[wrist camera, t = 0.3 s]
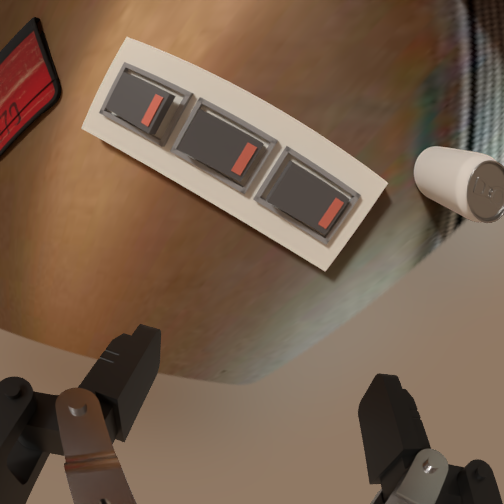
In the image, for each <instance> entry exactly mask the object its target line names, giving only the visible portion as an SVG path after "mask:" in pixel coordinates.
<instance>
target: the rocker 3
mask: <svg viewBox="0 0 504 504" xmlns="http://www.w3.org/2000/svg"><path fill="white" fill-rule="evenodd" d="M266 200H267V202H268V203H270V204H272V205H274V206H276V207H277V208H279V209H281V210H283V211H284V212H286V213H288V214H290V215H292V216H293V217H295V218H297V219H299V220H300V221H302V222H304V223H306V224H307V225H309V226H311V227H313V228H314V229H316V230H318V231H319V232H321V233H323V234H325V235H326V233H327V232H328V230H329V229H330V227H331V226H332V225H333V223H334V222H335V220H336V219H337V217H338V216H339V215H340V213H341V212H342V210H343V209H344V207H345V206H346V204H347V203H348V201H349V200H350V199H349V198H347V197H346V196H345V195H344V194H342V193H341V192H339V191H338V190H336V189H334V188H333V187H331V186H330V185H328V184H327V183H325V182H324V181H322V180H321V179H319V178H318V177H316V176H314V175H313V174H311V173H310V172H308V171H306V170H305V169H303V168H302V167H300V166H298V165H297V164H295V163H294V162H292V161H289V162H288V164H287V165H286V167H285V168H284V170H283V172H282V173H281V175H280V176H279V178H278V179H277V181H276V183H275V184H274V186H273V187H272V189H271V191H270V192H269V194H268V195H267V197H266Z"/></svg>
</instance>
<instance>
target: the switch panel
mask: <svg viewBox="0 0 504 504" xmlns="http://www.w3.org/2000/svg"><path fill="white" fill-rule="evenodd" d="M123 72H126V73H129V74H131V75H133V76H135V77H138V78H140V79H142V80H144V81H146V82H148V83H150V84H152V85H154V86H156V87H158V88H160V89H162V90H164V91H166V92H168V93H170V94H172V95H174V96H176V97H175V99H174V100H173V102H172V104H171V106H170V108H169V109H168V111H167V113H166V115H165V117H164V119H163V121H162V122H161V124H160V126H159V128H158V130H157V132H156V134H148V133H147V132H145V131H143V130H142V129H140V128H138V127H137V126H135V125H133V124H132V123H130V122H128V121H127V120H125V119H123V118H122V117H120V116H118V115H117V114H115V113H113V112H112V111H110V110H108V109H106V108H105V107H106V105H107V103H108V101H109V99H110V97H111V95H112V93H113V91H114V89H115V87H116V85H117V83H118V81H119V79H120V77H121V75H122V73H123ZM199 109H201V110H203V111H205V112H207V113H209V114H211V115H213V116H215V117H217V118H219V119H221V120H223V121H224V122H226V123H228V124H230V125H232V126H234V127H235V128H237V129H239V130H241V131H243V132H245V133H246V134H248V135H250V136H252V137H253V138H255V139H257V140H259V141H260V142H262V143H263V144H264V145H263V146H262V148H261V149H260V151H259V153H258V154H257V156H256V158H255V159H254V161H253V162H252V164H251V166H250V167H249V169H248V171H247V172H246V174H245V176H244V177H243V179H242V181H241V182H239V181H237V180H235V179H233V178H231V177H230V176H228V175H226V174H224V173H222V172H220V171H218V170H216V169H215V168H213V167H211V166H209V165H207V164H205V163H203V162H201V161H199V160H197V159H195V158H193V157H191V156H189V155H187V154H185V153H183V152H181V151H179V150H178V149H177V148H178V147H179V145H180V143H181V141H182V139H183V137H184V135H185V134H186V132H187V130H188V128H189V126H190V125H191V123H192V121H193V119H194V117H195V116H196V114H197V112H198V111H199ZM82 129H83V130H85V131H87V132H89V133H91V134H92V135H94V136H96V137H98V138H100V139H101V140H103V141H105V142H107V143H108V144H110V145H112V146H114V147H116V148H117V149H119V150H121V151H123V152H124V153H126V154H128V155H130V156H131V157H133V158H135V159H137V160H138V161H140V162H142V163H144V164H145V165H147V166H149V167H151V168H152V169H154V170H156V171H158V172H159V173H161V174H163V175H165V176H166V177H168V178H170V179H171V180H173V181H175V182H177V183H178V184H180V185H182V186H183V187H185V188H187V189H189V190H190V191H192V192H194V193H195V194H197V195H199V196H201V197H202V198H204V199H206V200H207V201H209V202H211V203H212V204H214V205H216V206H217V207H219V208H221V209H223V210H224V211H226V212H228V213H229V214H231V215H233V216H234V217H236V218H238V219H239V220H241V221H243V222H244V223H246V224H248V225H249V226H251V227H253V228H254V229H256V230H258V231H259V232H261V233H263V234H264V235H266V236H268V237H269V238H271V239H273V240H274V241H276V242H278V243H279V244H281V245H283V246H284V247H286V248H287V249H289V250H291V251H292V252H294V253H296V254H297V255H299V256H301V257H302V258H304V259H305V260H307V261H309V262H310V263H312V264H314V265H315V266H317V267H318V268H320V269H322V270H323V271H325V272H326V270H327V269H328V268H329V266H330V265H331V263H332V262H333V261H334V259H335V258H336V257H337V255H338V254H339V253H340V251H341V250H342V249H343V247H344V246H345V244H346V243H347V242H348V240H349V239H350V238H351V236H352V235H353V233H354V232H355V231H356V229H357V228H358V226H359V225H360V223H361V222H362V221H363V219H364V218H365V216H366V215H367V213H368V212H369V211H370V209H371V208H372V206H373V205H374V203H375V202H376V200H377V199H378V197H379V196H380V195H381V193H382V192H383V190H384V189H385V187H386V186H387V184H388V183H387V182H386V181H385V180H384V179H382V178H381V177H380V176H378V175H377V174H376V173H374V172H373V171H372V170H370V169H369V168H368V167H366V166H365V165H363V164H362V163H361V162H359V161H358V160H356V159H355V158H354V157H352V156H351V155H349V154H348V153H346V152H345V151H344V150H342V149H341V148H339V147H338V146H336V145H335V144H333V143H332V142H330V141H329V140H327V139H326V138H324V137H323V136H321V135H320V134H318V133H317V132H315V131H314V130H312V129H310V128H309V127H307V126H306V125H304V124H302V123H301V122H299V121H298V120H296V119H294V118H293V117H291V116H289V115H288V114H286V113H284V112H283V111H281V110H279V109H278V108H276V107H274V106H272V105H271V104H269V103H267V102H265V101H264V100H262V99H260V98H258V97H257V96H255V95H253V94H251V93H249V92H247V91H246V90H244V89H242V88H240V87H238V86H236V85H234V84H232V83H230V82H228V81H226V80H224V79H222V78H220V77H218V76H216V75H214V74H212V73H210V72H208V71H206V70H204V69H202V68H200V67H198V66H196V65H193V64H191V63H189V62H187V61H185V60H183V59H180V58H178V57H176V56H173V55H171V54H169V53H166V52H164V51H162V50H159V49H157V48H154V47H152V46H149V45H147V44H144V43H142V42H139V41H137V40H134V39H131V38H129V37H126V39H125V41H124V42H123V44H122V46H121V48H120V49H119V51H118V53H117V55H116V57H115V58H114V60H113V62H112V64H111V66H110V68H109V70H108V72H107V74H106V75H105V77H104V79H103V81H102V83H101V85H100V88H99V90H98V92H97V94H96V96H95V98H94V100H93V102H92V105H91V107H90V109H89V111H88V114H87V116H86V118H85V121H84V123H83V125H82ZM289 161H292V162H294V163H295V164H297V165H298V166H300V167H302V168H303V169H305V170H306V171H308V172H310V173H311V174H313V175H314V176H316V177H318V178H319V179H321V180H322V181H324V182H325V183H327V184H328V185H330V186H331V187H333V188H334V189H336V190H338V191H339V192H341V193H342V194H344V195H345V196H346V197H347V198H349V199H350V200H349V201H348V203H347V204H346V206H345V207H344V209H343V210H342V212H341V213H340V215H339V216H338V217H337V219H336V220H335V222H334V223H333V225H332V226H331V227H330V229H329V230H328V232H327V233H326V235H325V234H323V233H321V232H319V231H318V230H316V229H314V228H313V227H311V226H309V225H307V224H306V223H304V222H302V221H300V220H299V219H297V218H295V217H293V216H292V215H290V214H288V213H286V212H284V211H283V210H281V209H279V208H277V207H276V206H274V205H272V204H270V203H268V202H267V200H266V197H267V195H268V194H269V192H270V191H271V189H272V187H273V186H274V184H275V183H276V181H277V179H278V178H279V176H280V175H281V173H282V172H283V170H284V168H285V167H286V165H287V164H288V162H289Z"/></svg>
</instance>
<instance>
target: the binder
mask: <svg viewBox="0 0 504 504" xmlns="http://www.w3.org/2000/svg"><path fill="white" fill-rule="evenodd" d="M39 20H40V19H39V18H36V17H34V18H32V19H31V20H30V21H29V22H28V23H27V24H26V25H25V26H24V27H23V28H22V29H21V30H20V31H19V32H18V33H17V34H16V35H15V36H14V37H13V38H12V40H11V41H10V42H9V43H8V44H7V45H6V46H5V47H4V48H3V49H2V50H1V52H0V156H1V154H2V153H3V152H4V151H5V150H6V149H7V148H8V147H9V146H10V144H11V143H12V142H13V141H14V140H15V139H16V138H17V137H18V136H19V135H20V134H21V133H22V132H23V131H24V130H25V129H26V128H27V127H28V126H29V125H30V124H31V123H32V122H33V121H34V120H35V119H36V118H37V117H39V116H40V115H41V114H42V113H44V112H45V111H46V110H48V109H49V108H51V107H52V106H53V105H54V104H55V103H56V102H57V101H58V99H59V97H60V93H61V87H60V83H59V79H58V77H57V74H56V70H55V67H54V64H53V61H52V58H51V55H50V51H49V48H48V44H47V41H46V38H45V35H44V33H43V31H42V33H41V35H40V34H39V31H38V28H37V25H36V23H37V22H38V21H39Z"/></svg>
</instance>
